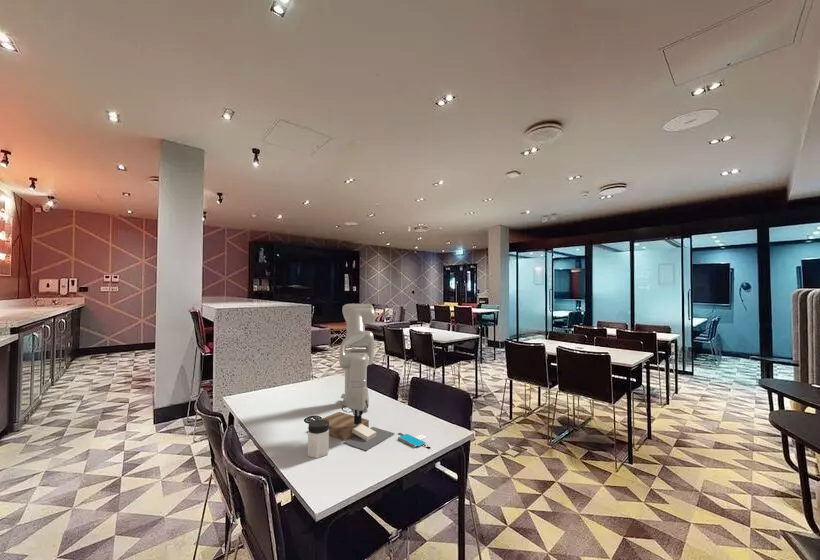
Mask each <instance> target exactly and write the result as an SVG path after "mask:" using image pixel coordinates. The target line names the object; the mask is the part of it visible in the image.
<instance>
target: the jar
mask: <svg viewBox="0 0 820 560" xmlns="http://www.w3.org/2000/svg"><path fill="white" fill-rule="evenodd" d="M319 419H320V420H319ZM319 419H315V420H312V421H310V422H309V423H308V427H307V429H308V430H307V431H308V433H307V457H309V458H310V457H311V458H315V459H319V458H323V457H324V456H328V455H329V450H330V435H329V421H327V420H323V419H322V418H319Z"/></svg>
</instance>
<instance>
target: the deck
mask: <svg viewBox="0 0 820 560" xmlns="http://www.w3.org/2000/svg"><path fill="white" fill-rule="evenodd" d="M320 419H323V420H327V421H329V437H330V436H331V437H334V438H336V439H339V440H341V441H343V442H345V441H346V440H348V439H350V438H352V437H354V436H356V434H354V433H352V430H353V428H354V427H356V426H358V425H361V424H363V425H365V426H366V427H368V428H370V427H369V426H370V425H369V424H370V423H369V422H370V421H369V419H366V418H363V417H362V420H361V423H360V424H358V425H356V424H354V415H353V414H352V415H351V414H349V413H345V412H342V411H337V412H334V413H331V414H330V415H326V416H324V417H322V418H319V419H318V420H320Z"/></svg>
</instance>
